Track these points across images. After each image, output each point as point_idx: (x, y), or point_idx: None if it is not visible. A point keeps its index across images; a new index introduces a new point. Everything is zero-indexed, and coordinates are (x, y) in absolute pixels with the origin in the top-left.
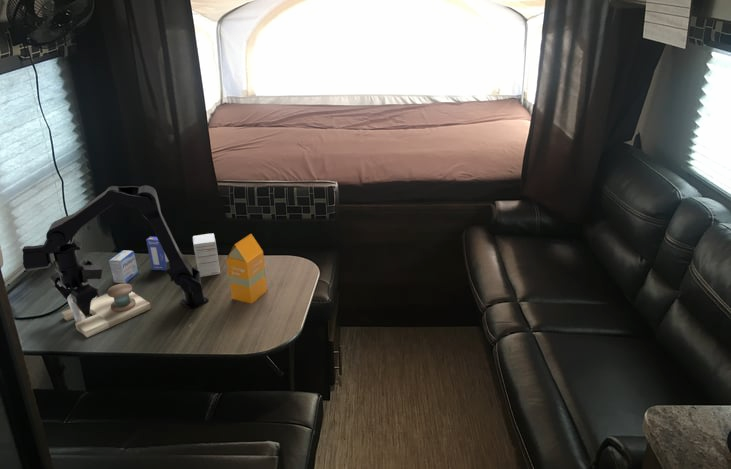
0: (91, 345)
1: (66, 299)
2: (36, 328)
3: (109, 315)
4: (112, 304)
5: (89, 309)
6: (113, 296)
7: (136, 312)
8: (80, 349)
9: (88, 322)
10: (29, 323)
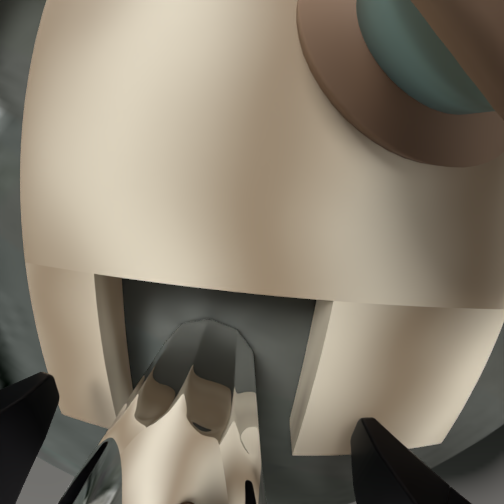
0: (484, 415)
1: (28, 471)
2: None
3: (465, 246)
4: (361, 98)
5: (416, 462)
6: None
7: None
8: (456, 449)
9: (379, 405)
10: (46, 452)
